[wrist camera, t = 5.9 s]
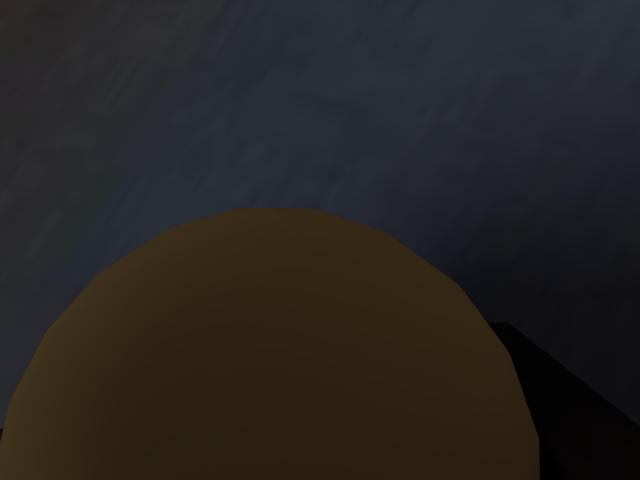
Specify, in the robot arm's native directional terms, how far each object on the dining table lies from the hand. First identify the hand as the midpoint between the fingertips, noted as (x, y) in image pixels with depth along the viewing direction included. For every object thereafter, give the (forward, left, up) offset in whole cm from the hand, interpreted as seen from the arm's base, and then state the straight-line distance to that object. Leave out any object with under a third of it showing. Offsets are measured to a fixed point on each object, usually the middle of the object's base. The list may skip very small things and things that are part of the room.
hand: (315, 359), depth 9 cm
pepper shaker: (-1, -1, -7) cm, 7 cm away
